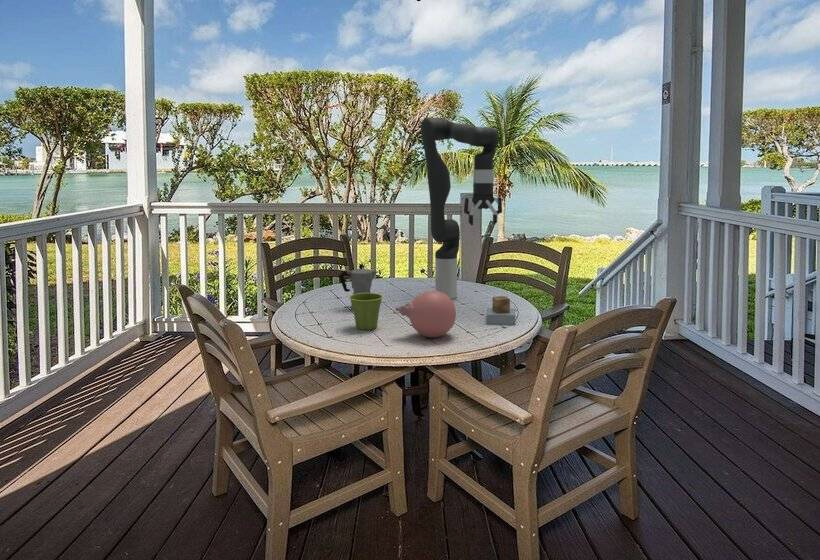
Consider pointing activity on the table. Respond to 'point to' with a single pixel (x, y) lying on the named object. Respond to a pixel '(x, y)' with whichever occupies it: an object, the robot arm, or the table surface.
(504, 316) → the slate base block
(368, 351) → the table surface
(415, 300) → the balloon
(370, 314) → the plant pot
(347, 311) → the table surface
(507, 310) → the walnut block
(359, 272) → the coffeepot
